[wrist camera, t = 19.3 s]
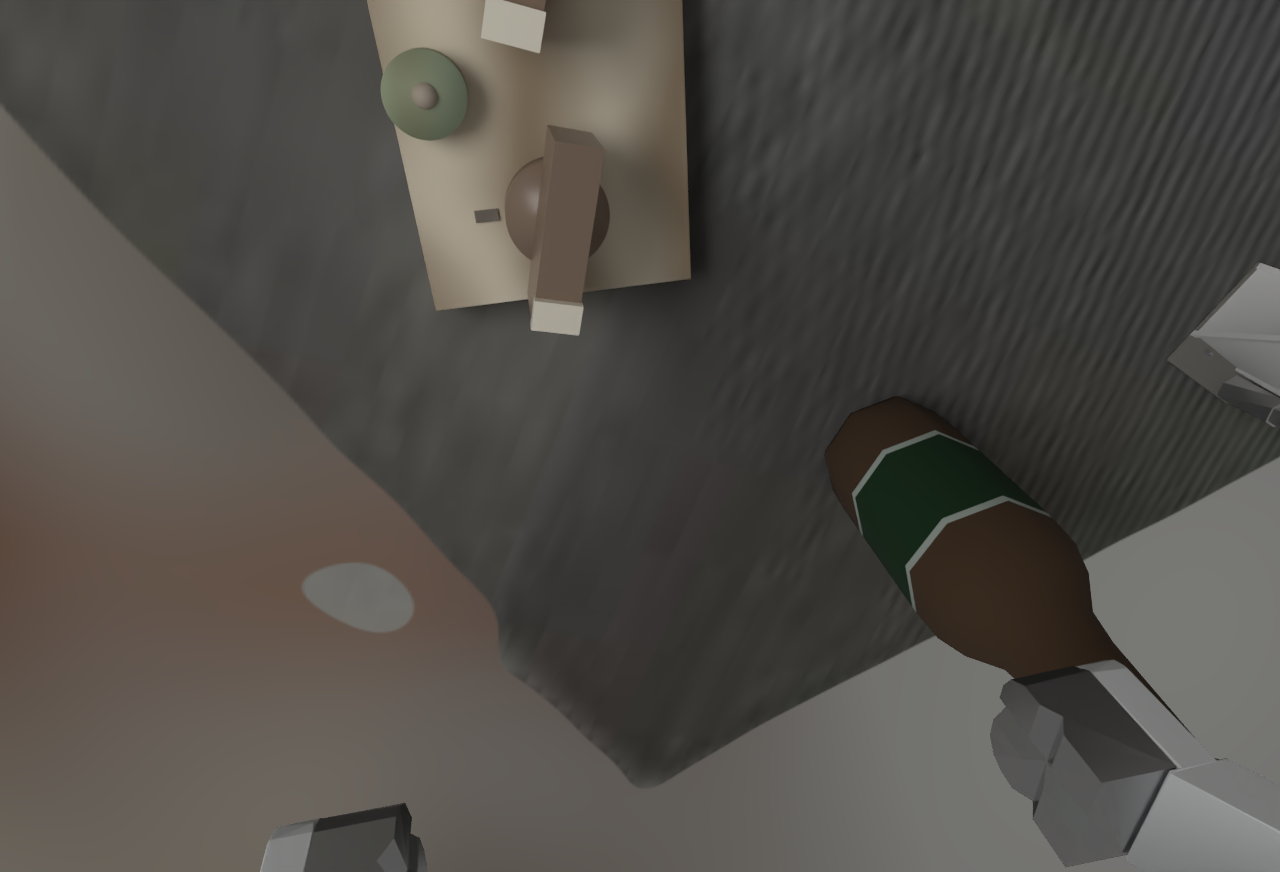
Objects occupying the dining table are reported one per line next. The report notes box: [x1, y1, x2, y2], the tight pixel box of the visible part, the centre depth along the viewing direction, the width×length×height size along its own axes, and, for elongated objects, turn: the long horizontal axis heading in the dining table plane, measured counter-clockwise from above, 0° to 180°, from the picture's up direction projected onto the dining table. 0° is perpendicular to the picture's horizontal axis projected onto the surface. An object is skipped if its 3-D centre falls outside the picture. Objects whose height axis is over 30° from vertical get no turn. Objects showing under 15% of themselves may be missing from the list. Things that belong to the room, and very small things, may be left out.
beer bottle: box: [825, 397, 1219, 760], centre depth 35 cm, size 8×8×24 cm
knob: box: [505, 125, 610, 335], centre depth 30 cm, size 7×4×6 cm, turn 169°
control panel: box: [367, 0, 691, 311], centre depth 30 cm, size 12×18×4 cm
